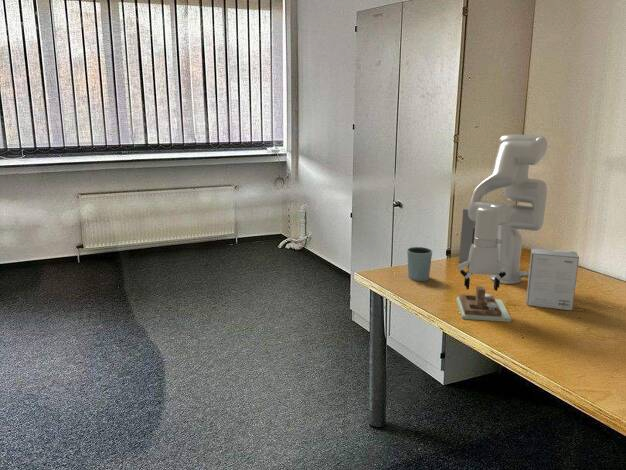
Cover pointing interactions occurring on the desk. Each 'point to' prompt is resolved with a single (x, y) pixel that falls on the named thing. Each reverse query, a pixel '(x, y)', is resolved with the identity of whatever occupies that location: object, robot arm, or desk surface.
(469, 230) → the tall grey labeled box
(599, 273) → the desk surface
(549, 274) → the hard drive box
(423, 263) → the blue-grey cup
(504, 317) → the board
